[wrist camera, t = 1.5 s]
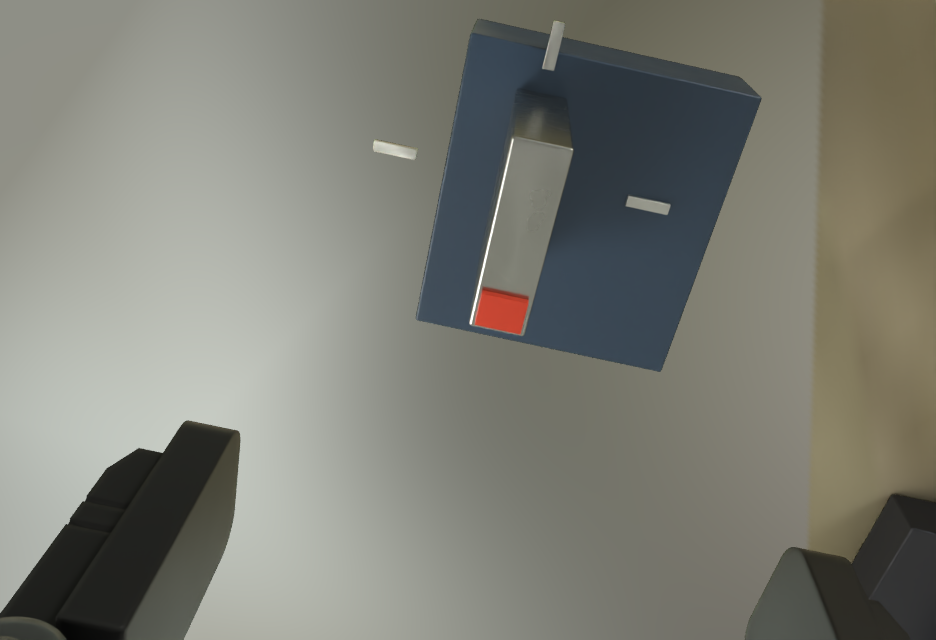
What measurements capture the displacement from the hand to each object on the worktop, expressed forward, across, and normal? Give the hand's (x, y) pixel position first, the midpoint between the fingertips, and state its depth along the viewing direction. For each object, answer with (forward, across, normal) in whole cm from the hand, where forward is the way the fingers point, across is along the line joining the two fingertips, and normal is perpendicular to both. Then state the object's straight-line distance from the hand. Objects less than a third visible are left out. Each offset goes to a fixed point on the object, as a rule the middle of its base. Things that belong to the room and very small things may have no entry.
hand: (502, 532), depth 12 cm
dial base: (+20, -1, +1) cm, 20 cm away
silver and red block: (+16, 0, 0) cm, 16 cm away
